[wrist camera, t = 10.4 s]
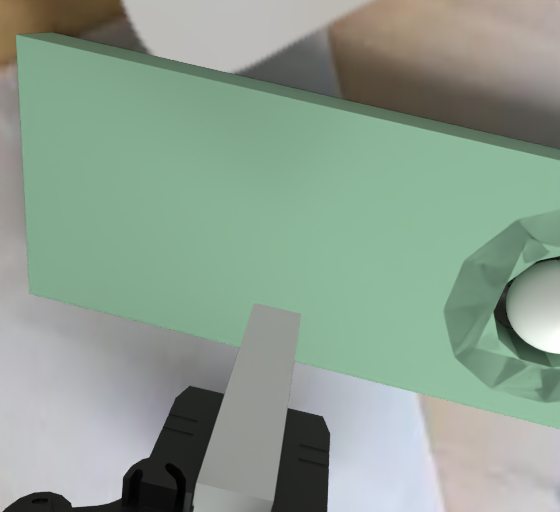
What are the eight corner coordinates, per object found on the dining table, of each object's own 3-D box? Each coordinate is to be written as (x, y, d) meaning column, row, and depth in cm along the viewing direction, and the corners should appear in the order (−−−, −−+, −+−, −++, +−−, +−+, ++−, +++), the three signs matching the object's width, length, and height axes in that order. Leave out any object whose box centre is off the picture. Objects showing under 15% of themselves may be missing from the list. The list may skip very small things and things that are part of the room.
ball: (577, 378, 22) (584, 300, 23) (634, 349, 18) (637, 260, 20) (485, 347, 22) (499, 274, 24) (523, 313, 19) (535, 230, 21)
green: (57, 270, 27) (3, 315, 23) (52, 32, 21) (-20, 36, 17) (609, 409, 25) (655, 484, 21) (758, 195, 20) (858, 241, 16)
